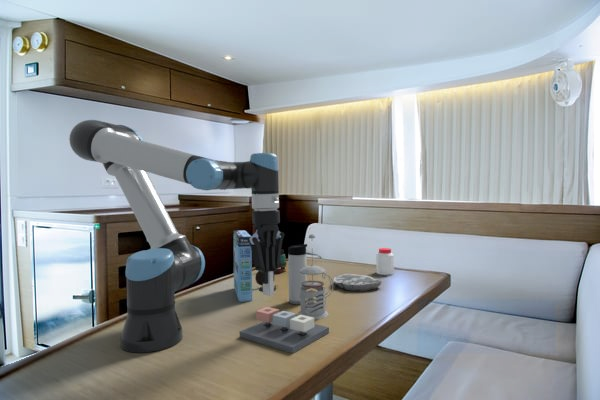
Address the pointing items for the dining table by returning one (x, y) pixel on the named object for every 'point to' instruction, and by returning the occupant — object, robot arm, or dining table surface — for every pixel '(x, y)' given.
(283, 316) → the grey key
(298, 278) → the travel mug
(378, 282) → the brain slice
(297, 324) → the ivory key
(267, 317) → the pink cube
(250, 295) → the gum box
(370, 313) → the dining table surface
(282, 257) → the binoculars
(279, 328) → the keyboard base
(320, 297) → the french press
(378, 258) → the pill bottle
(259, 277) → the compass
